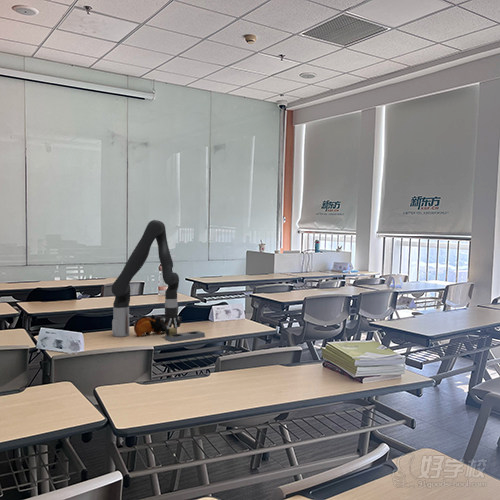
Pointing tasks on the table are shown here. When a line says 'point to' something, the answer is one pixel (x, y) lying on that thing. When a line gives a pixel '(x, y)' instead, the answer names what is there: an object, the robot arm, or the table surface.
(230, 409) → the table surface
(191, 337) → the grey flat block
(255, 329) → the table surface
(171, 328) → the yellow cube
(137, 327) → the toy guinea pig
